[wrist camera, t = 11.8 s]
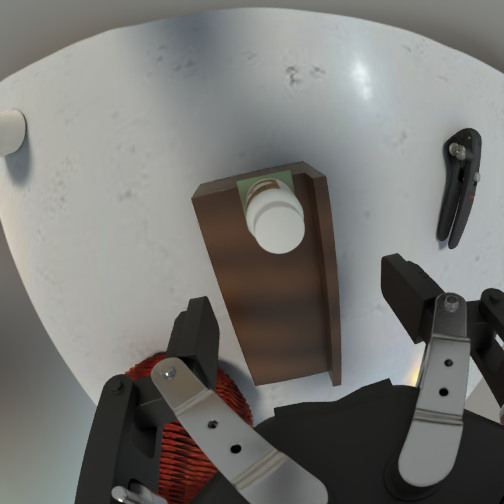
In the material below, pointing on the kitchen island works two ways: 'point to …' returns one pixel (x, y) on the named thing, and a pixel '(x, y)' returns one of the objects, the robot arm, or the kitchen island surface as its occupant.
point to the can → (11, 131)
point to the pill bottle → (274, 216)
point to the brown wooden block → (276, 277)
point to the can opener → (460, 183)
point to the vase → (188, 441)
